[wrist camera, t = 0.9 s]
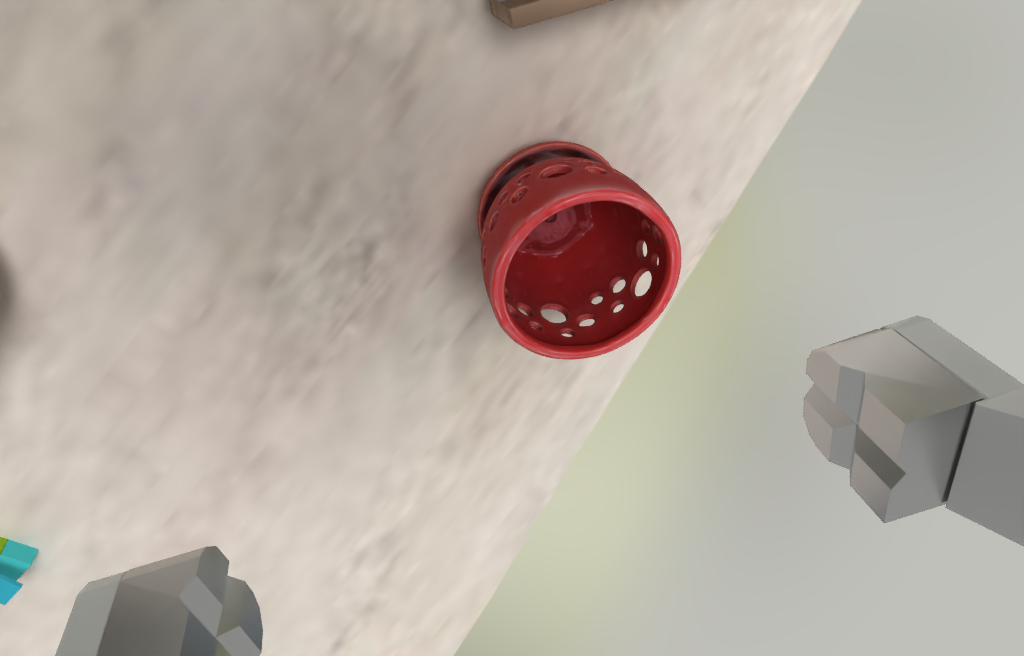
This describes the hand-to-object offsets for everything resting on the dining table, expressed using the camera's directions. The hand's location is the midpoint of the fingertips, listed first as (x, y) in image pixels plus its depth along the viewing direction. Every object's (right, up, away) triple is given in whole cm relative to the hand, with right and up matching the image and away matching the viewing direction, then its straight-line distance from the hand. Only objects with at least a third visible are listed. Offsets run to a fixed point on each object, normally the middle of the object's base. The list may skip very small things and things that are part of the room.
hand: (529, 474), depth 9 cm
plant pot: (+2, +11, +44) cm, 45 cm away
